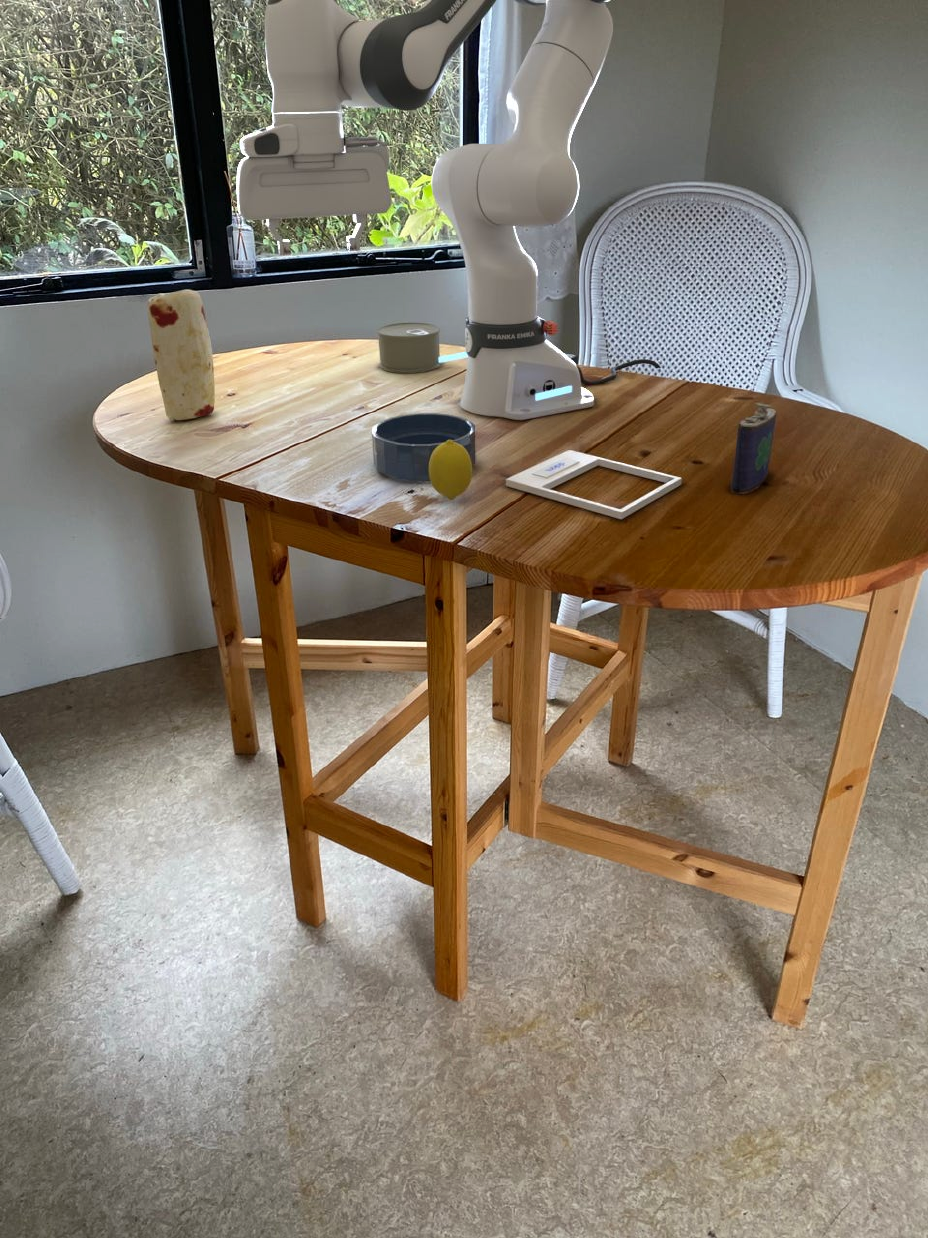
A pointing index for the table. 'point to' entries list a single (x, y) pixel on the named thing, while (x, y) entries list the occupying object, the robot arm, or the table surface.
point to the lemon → (450, 469)
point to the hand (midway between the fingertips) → (319, 252)
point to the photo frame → (576, 463)
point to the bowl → (417, 442)
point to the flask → (753, 450)
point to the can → (409, 347)
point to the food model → (182, 354)
